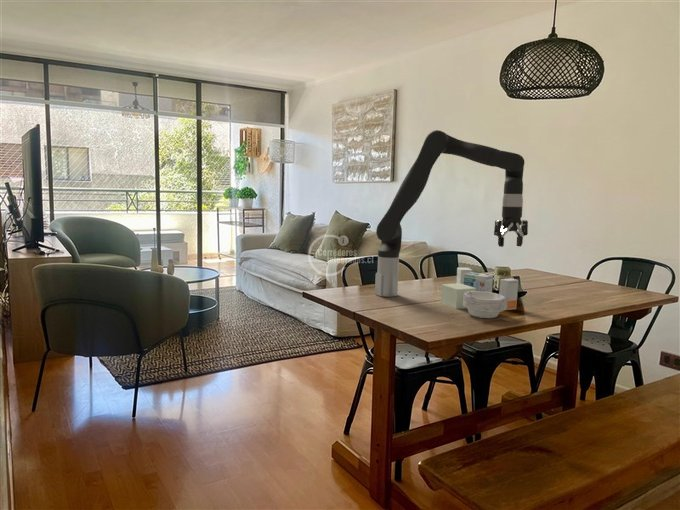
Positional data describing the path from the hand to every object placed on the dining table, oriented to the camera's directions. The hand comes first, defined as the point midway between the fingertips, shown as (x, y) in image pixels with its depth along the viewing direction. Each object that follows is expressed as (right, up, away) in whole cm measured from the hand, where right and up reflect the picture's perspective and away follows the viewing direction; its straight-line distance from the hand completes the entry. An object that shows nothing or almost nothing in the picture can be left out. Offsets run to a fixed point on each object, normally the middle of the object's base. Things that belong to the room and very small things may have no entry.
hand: (510, 246), depth 196 cm
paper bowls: (-14, -27, -10) cm, 32 cm away
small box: (-10, -20, +36) cm, 42 cm away
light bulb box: (-8, -23, +19) cm, 31 cm away
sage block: (-20, -24, +6) cm, 32 cm away
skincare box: (-1, -25, +1) cm, 25 cm away
